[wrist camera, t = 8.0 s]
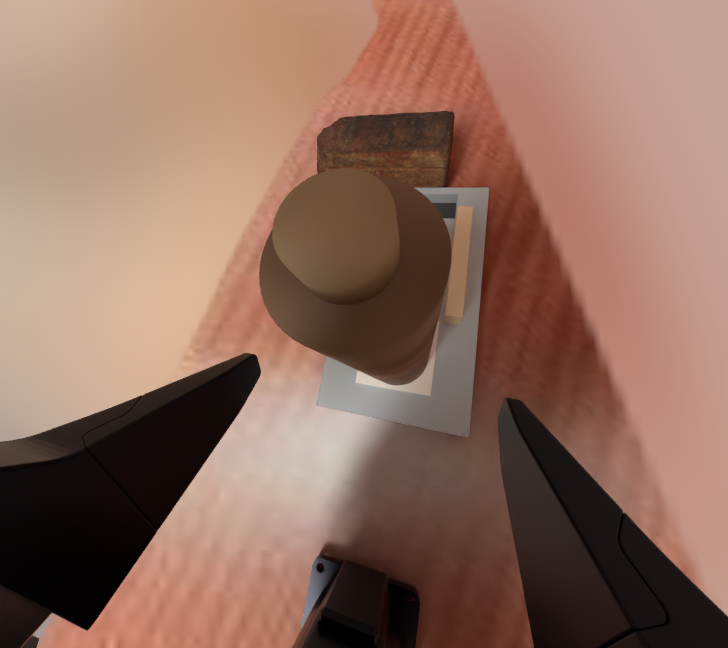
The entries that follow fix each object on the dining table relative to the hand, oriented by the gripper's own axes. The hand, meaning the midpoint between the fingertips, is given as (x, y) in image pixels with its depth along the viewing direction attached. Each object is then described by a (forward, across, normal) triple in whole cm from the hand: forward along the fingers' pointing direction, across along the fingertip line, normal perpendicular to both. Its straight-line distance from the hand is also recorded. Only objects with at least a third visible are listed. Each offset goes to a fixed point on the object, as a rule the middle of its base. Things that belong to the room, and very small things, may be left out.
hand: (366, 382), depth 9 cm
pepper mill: (+8, 0, +4) cm, 9 cm away
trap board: (+12, 0, +2) cm, 12 cm away
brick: (+20, +3, -6) cm, 21 cm away
